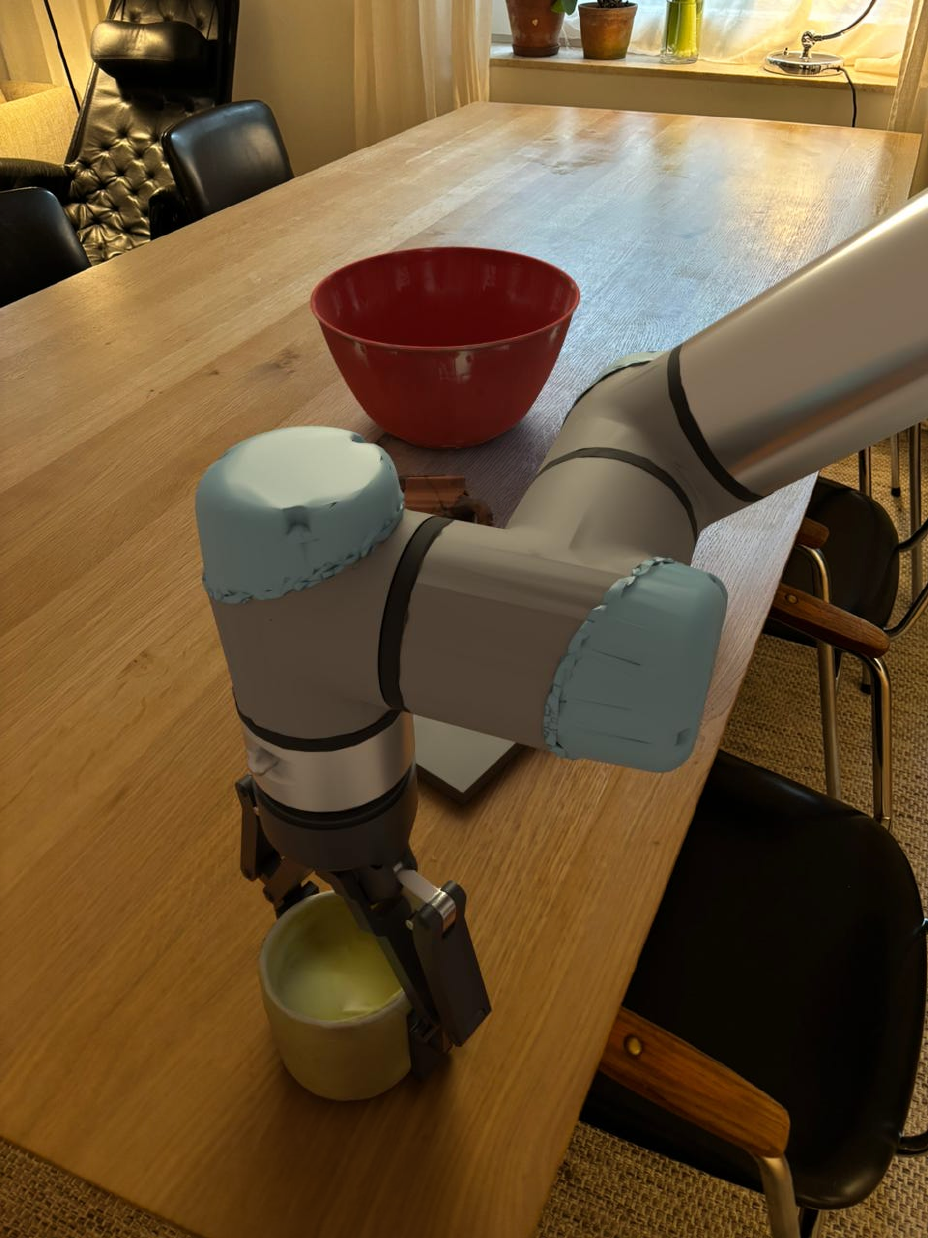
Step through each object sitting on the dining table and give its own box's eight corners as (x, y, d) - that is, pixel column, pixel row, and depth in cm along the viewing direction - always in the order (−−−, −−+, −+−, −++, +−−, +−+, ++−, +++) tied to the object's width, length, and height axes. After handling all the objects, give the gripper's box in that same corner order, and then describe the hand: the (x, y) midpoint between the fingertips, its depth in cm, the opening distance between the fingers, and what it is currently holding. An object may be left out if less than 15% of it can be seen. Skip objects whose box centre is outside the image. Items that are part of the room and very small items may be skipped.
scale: (581, 692, 80) (583, 665, 78) (463, 806, 71) (462, 778, 70) (424, 608, 89) (422, 582, 87) (300, 701, 80) (296, 673, 78)
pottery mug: (363, 563, 95) (362, 476, 93) (418, 554, 103) (417, 474, 101) (472, 570, 88) (472, 477, 87) (521, 561, 96) (522, 475, 95)
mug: (404, 1156, 51) (356, 1009, 48) (253, 1108, 57) (199, 972, 53) (502, 988, 61) (469, 855, 57) (366, 959, 66) (327, 836, 63)
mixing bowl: (309, 381, 123) (293, 256, 113) (529, 353, 128) (533, 231, 118) (346, 503, 102) (331, 363, 92) (607, 464, 107) (620, 327, 97)
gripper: (117, 693, 48) (200, 946, 63) (468, 952, 37) (471, 1186, 52) (236, 616, 53) (288, 869, 67) (581, 828, 42) (555, 1076, 56)
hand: (368, 1007), depth 60 cm, fingers closed on mug, 9 cm apart
